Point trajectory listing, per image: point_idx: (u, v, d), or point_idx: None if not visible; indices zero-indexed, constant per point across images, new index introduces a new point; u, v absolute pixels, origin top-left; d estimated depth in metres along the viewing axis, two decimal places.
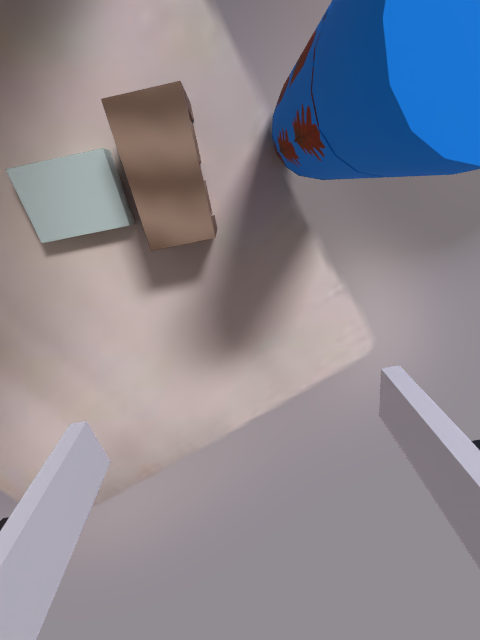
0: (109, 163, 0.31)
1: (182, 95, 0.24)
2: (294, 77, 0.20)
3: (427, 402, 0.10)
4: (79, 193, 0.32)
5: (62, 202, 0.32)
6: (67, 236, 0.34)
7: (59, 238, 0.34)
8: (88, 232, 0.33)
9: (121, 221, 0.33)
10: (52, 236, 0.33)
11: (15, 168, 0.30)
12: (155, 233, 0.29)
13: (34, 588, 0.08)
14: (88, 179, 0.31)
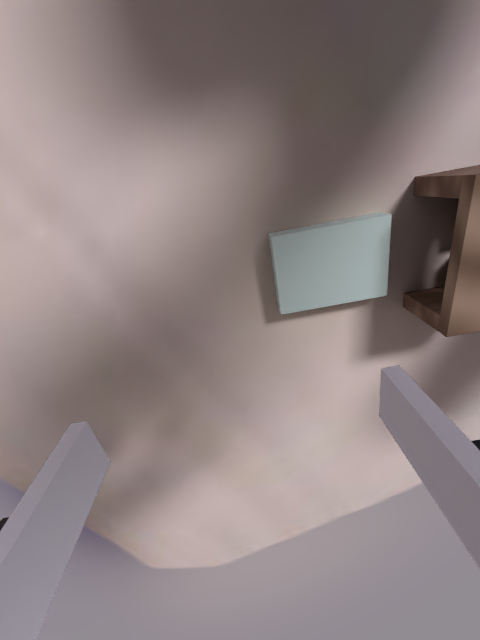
0: (389, 230, 0.26)
1: None
2: None
3: (427, 402, 0.10)
4: (344, 262, 0.27)
5: (321, 272, 0.27)
6: (312, 307, 0.29)
7: (302, 309, 0.29)
8: (337, 303, 0.29)
9: (379, 291, 0.28)
10: (295, 307, 0.29)
11: (282, 236, 0.26)
12: (460, 319, 0.25)
13: (34, 588, 0.08)
14: (361, 247, 0.26)
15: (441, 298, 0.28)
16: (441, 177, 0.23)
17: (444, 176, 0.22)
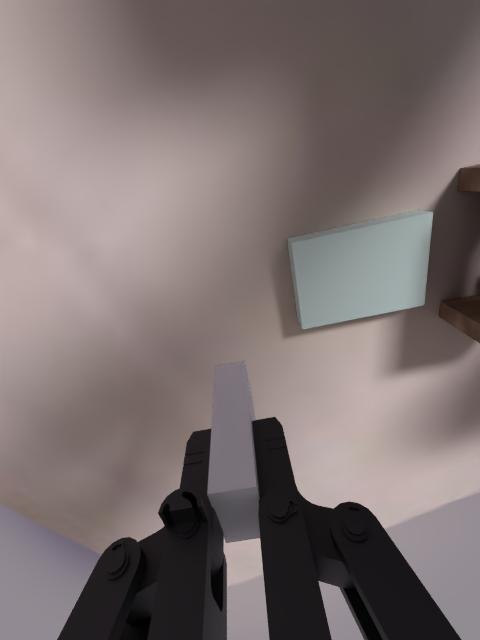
0: (428, 230, 0.22)
1: None
2: None
3: (242, 389, 0.12)
4: (376, 269, 0.23)
5: (349, 281, 0.24)
6: (338, 320, 0.25)
7: (327, 323, 0.26)
8: (367, 315, 0.25)
9: (415, 300, 0.25)
10: (319, 321, 0.25)
11: (305, 241, 0.22)
12: None
13: None
14: (396, 251, 0.23)
15: None
16: None
17: None
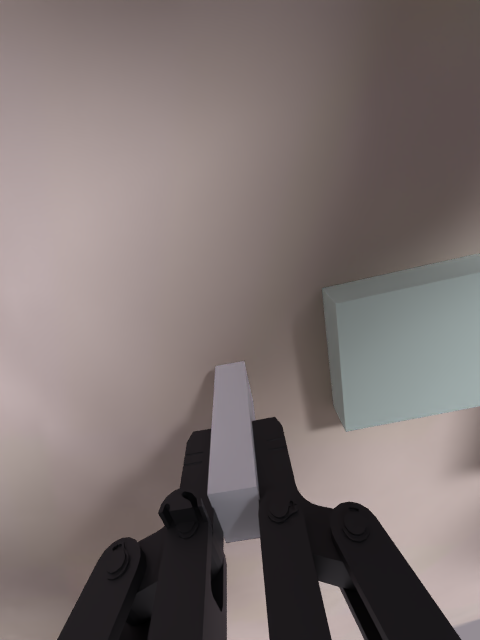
0: None
1: None
2: None
3: (242, 389, 0.12)
4: None
5: (431, 361, 0.14)
6: (405, 417, 0.15)
7: (387, 422, 0.16)
8: (454, 409, 0.15)
9: None
10: (373, 420, 0.15)
11: (360, 300, 0.12)
12: None
13: None
14: None
15: None
16: None
17: None
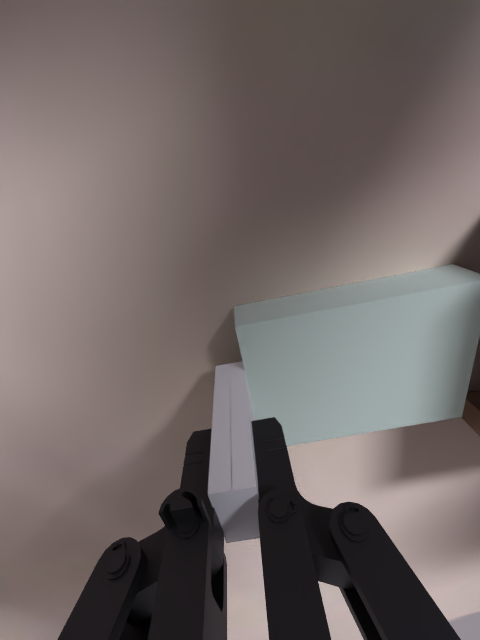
0: (479, 306, 0.13)
1: None
2: None
3: (242, 389, 0.12)
4: (385, 366, 0.14)
5: (339, 384, 0.14)
6: (320, 437, 0.16)
7: (303, 441, 0.16)
8: (368, 430, 0.15)
9: (448, 411, 0.15)
10: (289, 439, 0.15)
11: (259, 324, 0.12)
12: None
13: None
14: (421, 340, 0.13)
15: None
16: None
17: None
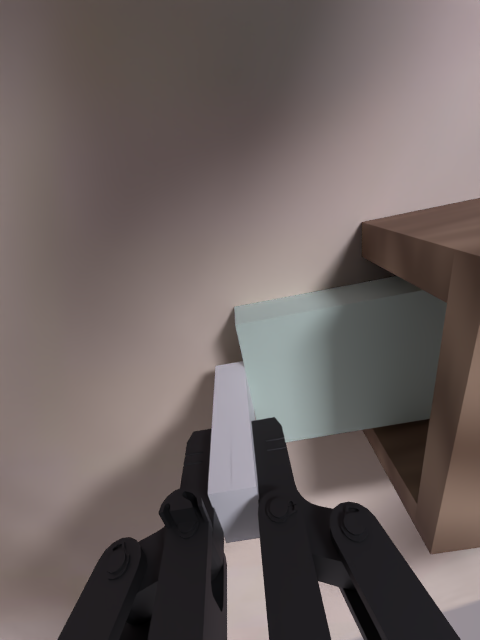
0: None
1: None
2: None
3: (242, 389, 0.12)
4: (382, 364, 0.14)
5: (337, 381, 0.14)
6: (319, 434, 0.16)
7: (301, 438, 0.16)
8: (365, 427, 0.16)
9: None
10: (288, 435, 0.16)
11: (259, 322, 0.13)
12: (459, 530, 0.11)
13: None
14: (418, 339, 0.13)
15: (424, 437, 0.15)
16: (406, 238, 0.10)
17: (412, 237, 0.09)
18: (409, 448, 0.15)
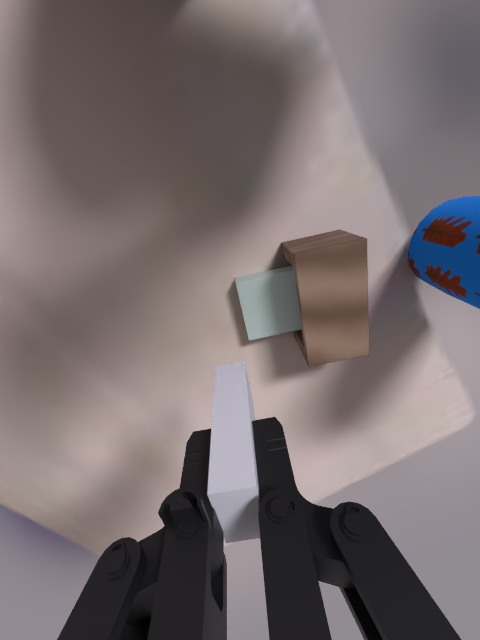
0: None
1: (366, 249, 0.27)
2: None
3: (242, 389, 0.12)
4: (295, 298, 0.34)
5: (278, 307, 0.34)
6: (273, 334, 0.36)
7: (266, 336, 0.36)
8: (293, 330, 0.36)
9: None
10: (260, 334, 0.36)
11: (244, 281, 0.33)
12: (316, 353, 0.32)
13: None
14: None
15: None
16: (287, 249, 0.30)
17: (288, 248, 0.30)
18: None
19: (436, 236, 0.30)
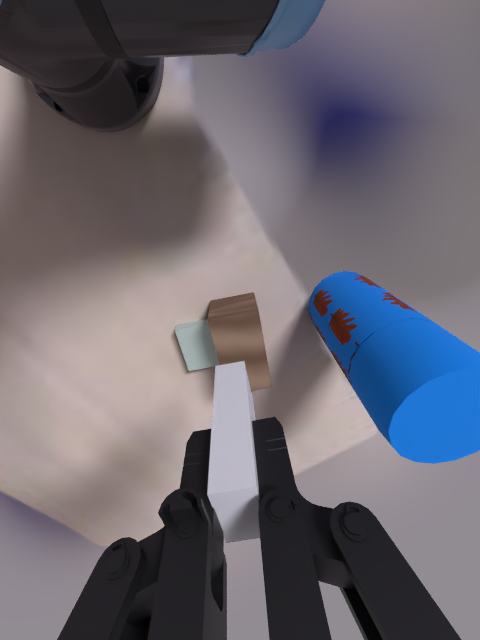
0: None
1: (258, 317, 0.38)
2: (333, 330, 0.34)
3: (242, 389, 0.12)
4: None
5: (208, 347, 0.46)
6: (207, 366, 0.47)
7: (201, 368, 0.47)
8: None
9: None
10: (197, 367, 0.47)
11: (181, 330, 0.44)
12: None
13: None
14: None
15: None
16: (209, 310, 0.41)
17: (209, 310, 0.41)
18: None
19: (317, 304, 0.41)
